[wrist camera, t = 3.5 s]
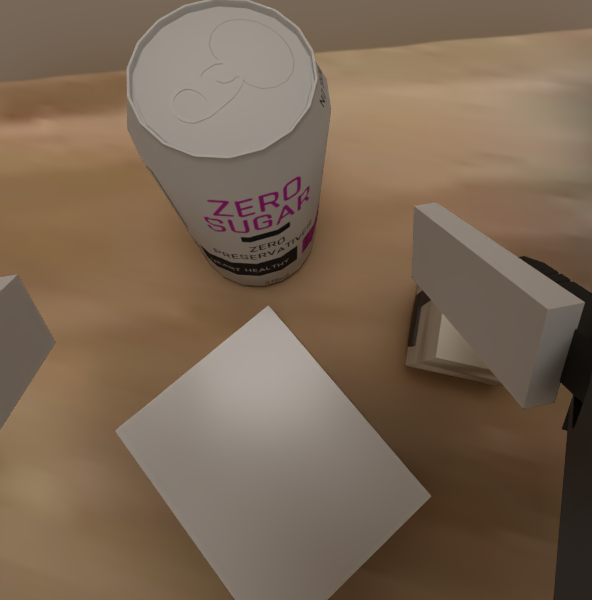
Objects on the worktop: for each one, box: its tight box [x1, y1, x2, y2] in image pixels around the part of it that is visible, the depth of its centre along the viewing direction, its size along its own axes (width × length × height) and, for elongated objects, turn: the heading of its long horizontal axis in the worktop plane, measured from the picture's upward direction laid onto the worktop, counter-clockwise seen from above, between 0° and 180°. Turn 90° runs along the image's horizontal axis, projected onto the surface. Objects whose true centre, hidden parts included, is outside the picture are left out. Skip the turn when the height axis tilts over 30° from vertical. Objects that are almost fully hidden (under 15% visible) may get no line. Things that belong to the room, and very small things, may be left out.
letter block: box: [405, 285, 503, 385], centre depth 24 cm, size 6×6×6 cm
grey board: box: [115, 305, 431, 600], centre depth 24 cm, size 15×12×2 cm
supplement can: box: [127, 0, 331, 286], centre depth 22 cm, size 8×8×15 cm
